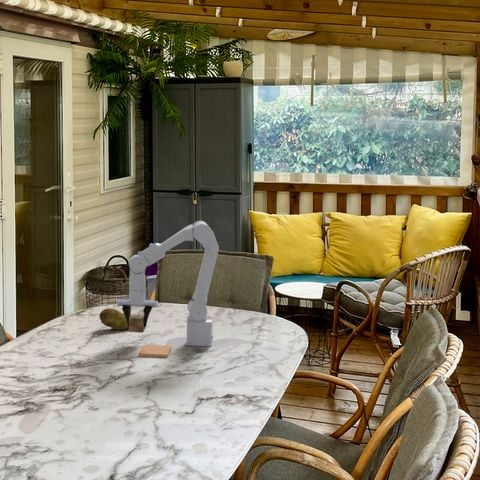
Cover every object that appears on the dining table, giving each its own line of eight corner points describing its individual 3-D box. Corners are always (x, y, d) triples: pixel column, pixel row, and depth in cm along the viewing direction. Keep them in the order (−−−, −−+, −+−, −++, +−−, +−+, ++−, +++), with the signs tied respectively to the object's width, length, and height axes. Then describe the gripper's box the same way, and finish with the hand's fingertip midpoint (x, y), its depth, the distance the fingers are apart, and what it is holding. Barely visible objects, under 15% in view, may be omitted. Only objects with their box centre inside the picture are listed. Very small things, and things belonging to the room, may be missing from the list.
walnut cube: (145, 328, 268) (145, 315, 268) (142, 332, 263) (143, 318, 263) (131, 328, 269) (131, 314, 268) (128, 331, 264) (129, 318, 263)
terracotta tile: (171, 348, 262) (171, 346, 262) (167, 357, 252) (167, 354, 252) (143, 347, 263) (143, 344, 263) (138, 356, 253) (138, 353, 253)
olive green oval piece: (132, 332, 281) (132, 311, 280) (97, 331, 281) (97, 310, 280) (135, 326, 289) (135, 306, 288) (102, 325, 289) (102, 305, 288)
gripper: (159, 287, 267) (159, 323, 269) (119, 285, 268) (119, 322, 270) (156, 291, 260) (156, 329, 262) (115, 290, 261) (115, 327, 263)
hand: (137, 326), depth 266 cm, fingers closed on walnut cube, 5 cm apart
